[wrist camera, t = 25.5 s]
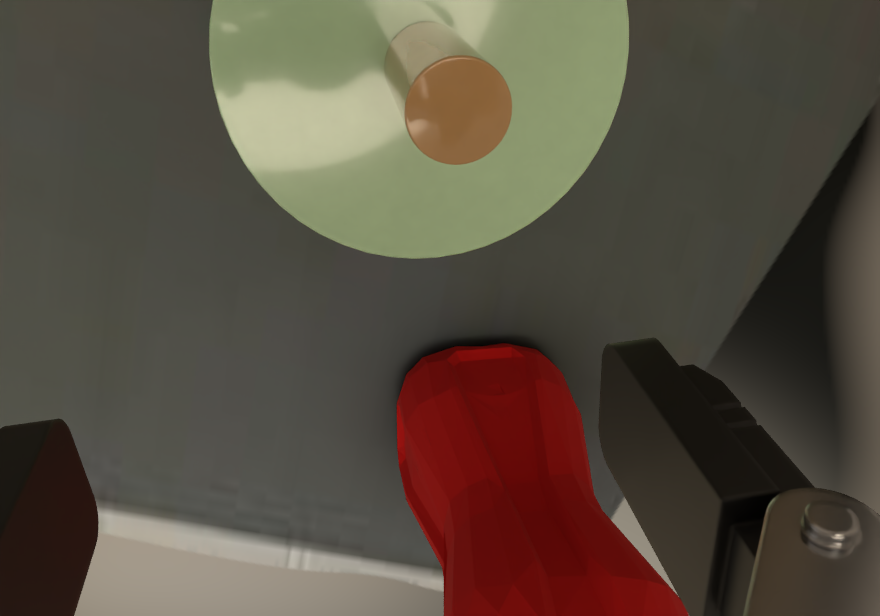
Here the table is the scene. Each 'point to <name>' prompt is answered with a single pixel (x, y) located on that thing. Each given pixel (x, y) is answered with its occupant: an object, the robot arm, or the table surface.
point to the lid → (417, 111)
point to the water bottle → (514, 491)
